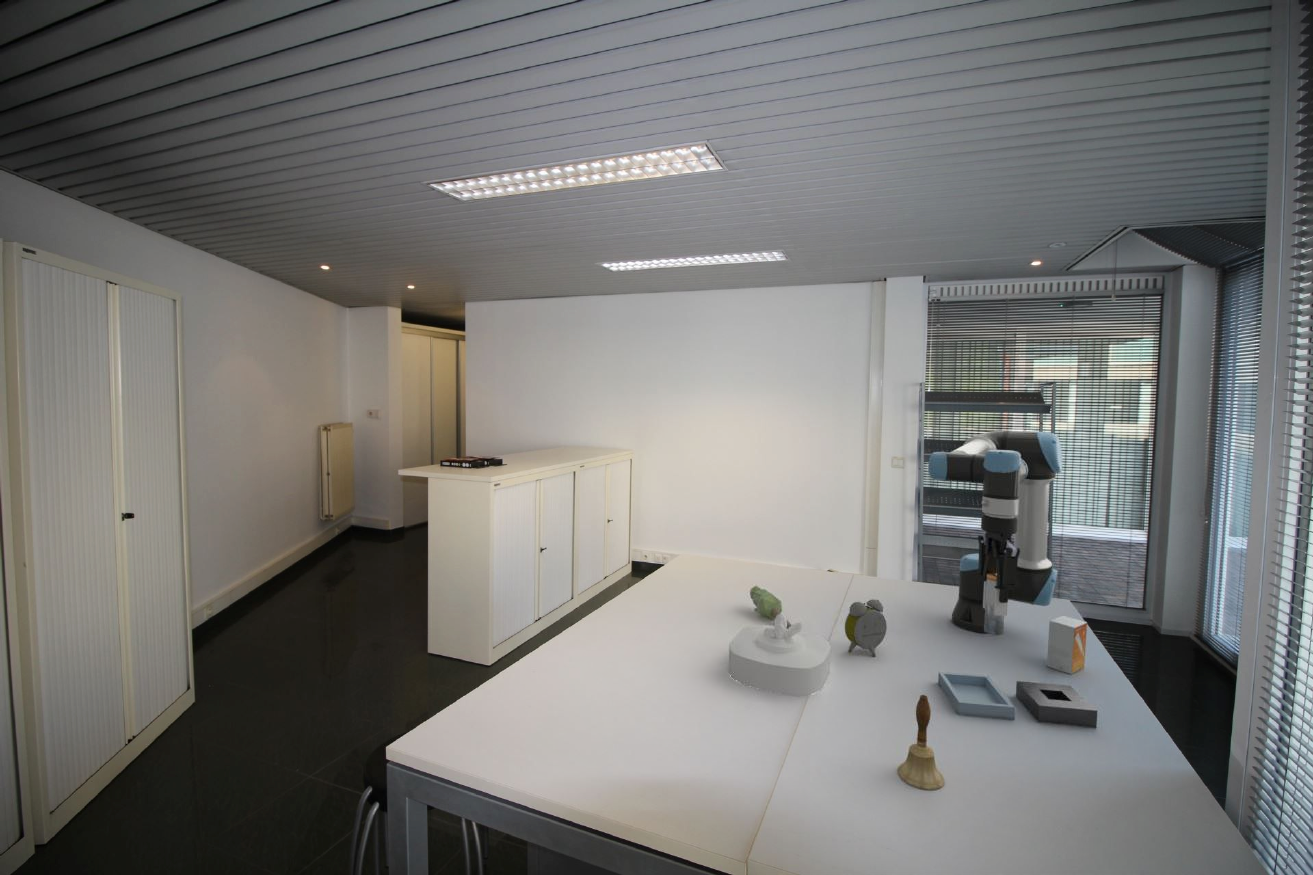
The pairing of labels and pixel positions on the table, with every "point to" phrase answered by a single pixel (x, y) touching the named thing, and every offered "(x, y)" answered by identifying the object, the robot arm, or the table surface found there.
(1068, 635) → the small box
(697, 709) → the table surface
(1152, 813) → the table surface
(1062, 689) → the block
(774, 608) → the decorative object
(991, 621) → the steel pin
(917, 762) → the hand bell
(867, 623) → the alarm clock
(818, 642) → the tissue box
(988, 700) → the tray
